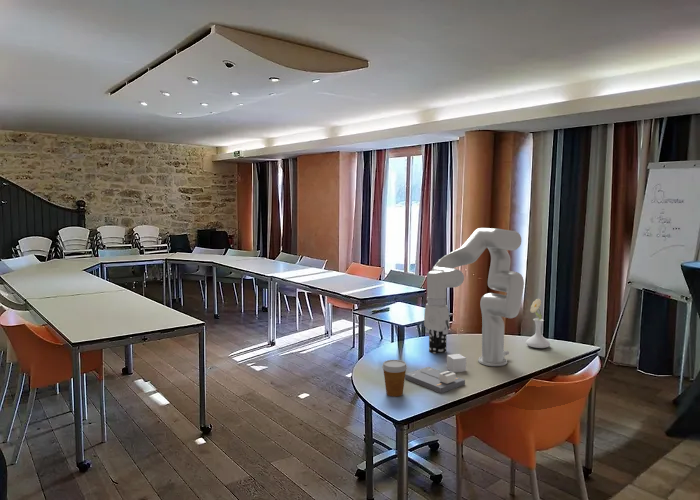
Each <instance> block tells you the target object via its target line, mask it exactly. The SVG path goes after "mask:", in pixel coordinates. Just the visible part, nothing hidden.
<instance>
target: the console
mask: <svg viewBox="0 0 700 500" xmlns="http://www.w3.org/2000/svg"><path fill="white" fill-rule="evenodd" d="M443 372H444V371H441V370H440V369H436V368H433V367H430V366H427V367H423V368H420V369H417V370H414V371H411V372H407V373H405V380H408V381H411V382H413V383H414V382H415V384H417V385H420V386H422V387H425V388H427V389H429V390H432V391H434V392H438V393H439V394H443V393H445V392H447V391H450V390H453V389H457V388H459V387H463V386H465V385H466V379H464V378H461V377H458V376H456V381H453V382H451V383H448V384H446V383H444V382H441V381H439V374H440V373H443Z"/></svg>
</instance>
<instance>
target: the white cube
mask: <svg viewBox="0 0 700 500" xmlns="http://www.w3.org/2000/svg"><path fill="white" fill-rule="evenodd" d="M446 368H447V370H448V371H452V372H453V373H460V372H466V371H467V357H465V356H463V355H462V354H460V353H453V354H446Z"/></svg>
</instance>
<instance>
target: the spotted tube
mask: <svg viewBox="0 0 700 500" xmlns="http://www.w3.org/2000/svg"><path fill="white" fill-rule="evenodd" d="M447 335H448V334H444V335H443V336H442V345H441V346H439V347H436V346H433V336H432V333H431V331H430V330H428V351H429V353H432V354H437V355H439V354H440V355H441V354H445V353H447Z"/></svg>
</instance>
